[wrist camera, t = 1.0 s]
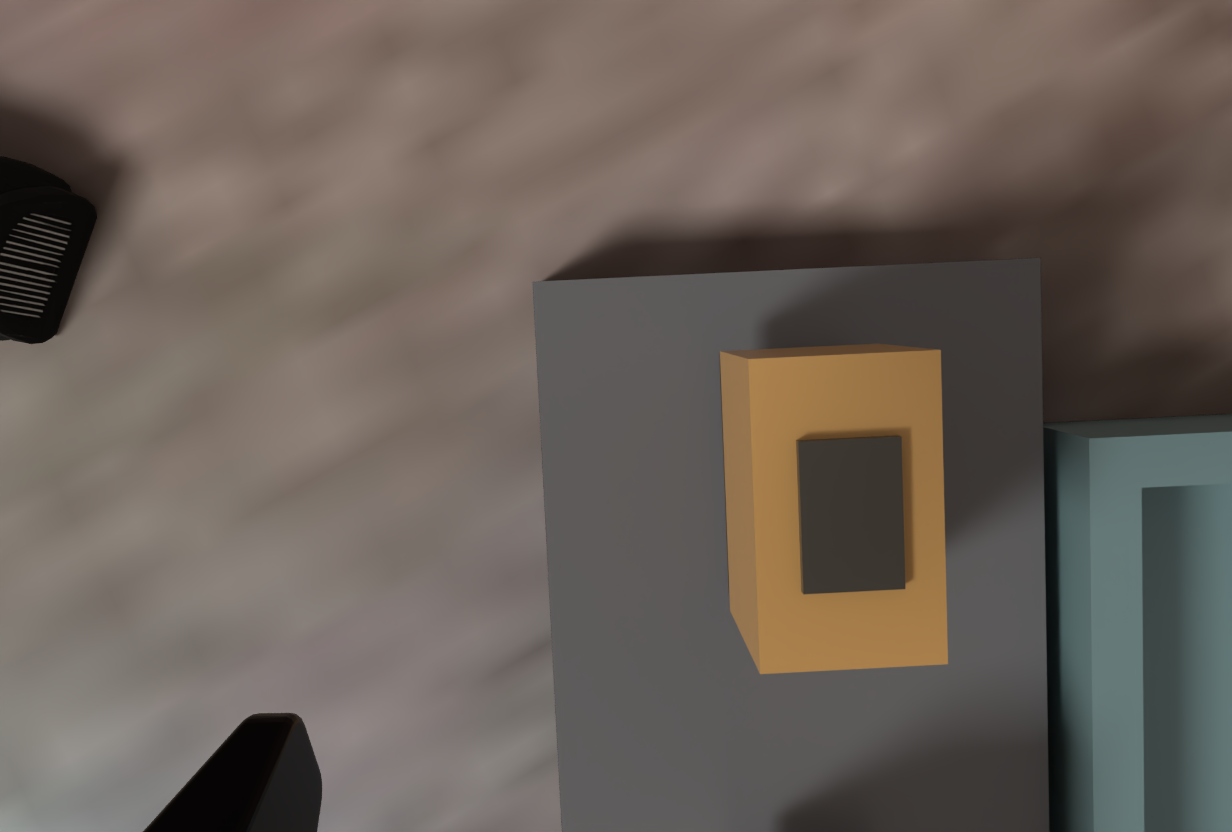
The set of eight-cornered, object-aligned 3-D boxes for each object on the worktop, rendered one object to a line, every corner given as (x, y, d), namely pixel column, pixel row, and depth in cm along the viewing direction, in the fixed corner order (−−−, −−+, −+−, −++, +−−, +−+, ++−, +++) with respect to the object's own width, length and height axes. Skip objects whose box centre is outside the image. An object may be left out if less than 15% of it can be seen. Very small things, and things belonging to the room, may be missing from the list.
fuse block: (1019, 1059, 27) (1053, 1119, 25) (579, 1084, 26) (578, 1146, 24) (1004, 262, 25) (1040, 257, 23) (537, 284, 25) (532, 281, 23)
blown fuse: (850, 568, 26) (951, 668, 18) (713, 575, 26) (761, 678, 18) (844, 340, 25) (944, 350, 18) (704, 346, 25) (749, 359, 18)
